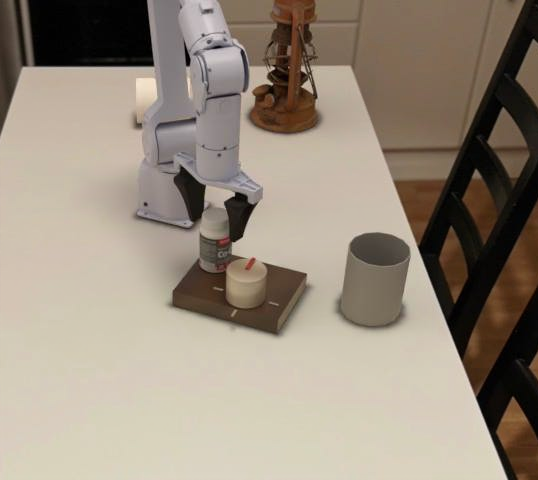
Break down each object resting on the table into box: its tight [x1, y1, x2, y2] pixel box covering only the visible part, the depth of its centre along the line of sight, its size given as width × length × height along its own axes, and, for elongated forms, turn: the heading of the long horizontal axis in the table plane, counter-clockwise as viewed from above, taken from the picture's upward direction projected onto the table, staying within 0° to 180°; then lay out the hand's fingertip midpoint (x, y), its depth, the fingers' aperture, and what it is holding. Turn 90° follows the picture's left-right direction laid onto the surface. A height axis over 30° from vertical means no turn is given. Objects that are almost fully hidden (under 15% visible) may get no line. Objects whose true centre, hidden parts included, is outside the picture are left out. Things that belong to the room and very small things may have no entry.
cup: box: [340, 231, 412, 327], centre depth 127 cm, size 8×8×10 cm
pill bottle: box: [198, 206, 233, 273], centre depth 131 cm, size 5×5×8 cm
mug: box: [135, 76, 192, 124], centre depth 171 cm, size 12×10×8 cm
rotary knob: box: [226, 257, 267, 309], centre depth 127 cm, size 6×6×5 cm
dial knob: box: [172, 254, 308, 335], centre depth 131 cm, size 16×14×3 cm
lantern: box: [249, 0, 319, 134], centre depth 163 cm, size 17×13×30 cm
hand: (216, 229), depth 130 cm, fingers open, 7 cm apart
